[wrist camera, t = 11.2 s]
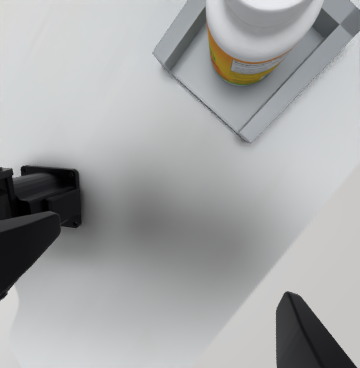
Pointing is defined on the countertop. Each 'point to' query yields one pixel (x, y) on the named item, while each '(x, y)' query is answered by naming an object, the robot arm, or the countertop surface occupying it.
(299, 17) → the supplement bottle
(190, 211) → the countertop surface
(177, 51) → the tray
